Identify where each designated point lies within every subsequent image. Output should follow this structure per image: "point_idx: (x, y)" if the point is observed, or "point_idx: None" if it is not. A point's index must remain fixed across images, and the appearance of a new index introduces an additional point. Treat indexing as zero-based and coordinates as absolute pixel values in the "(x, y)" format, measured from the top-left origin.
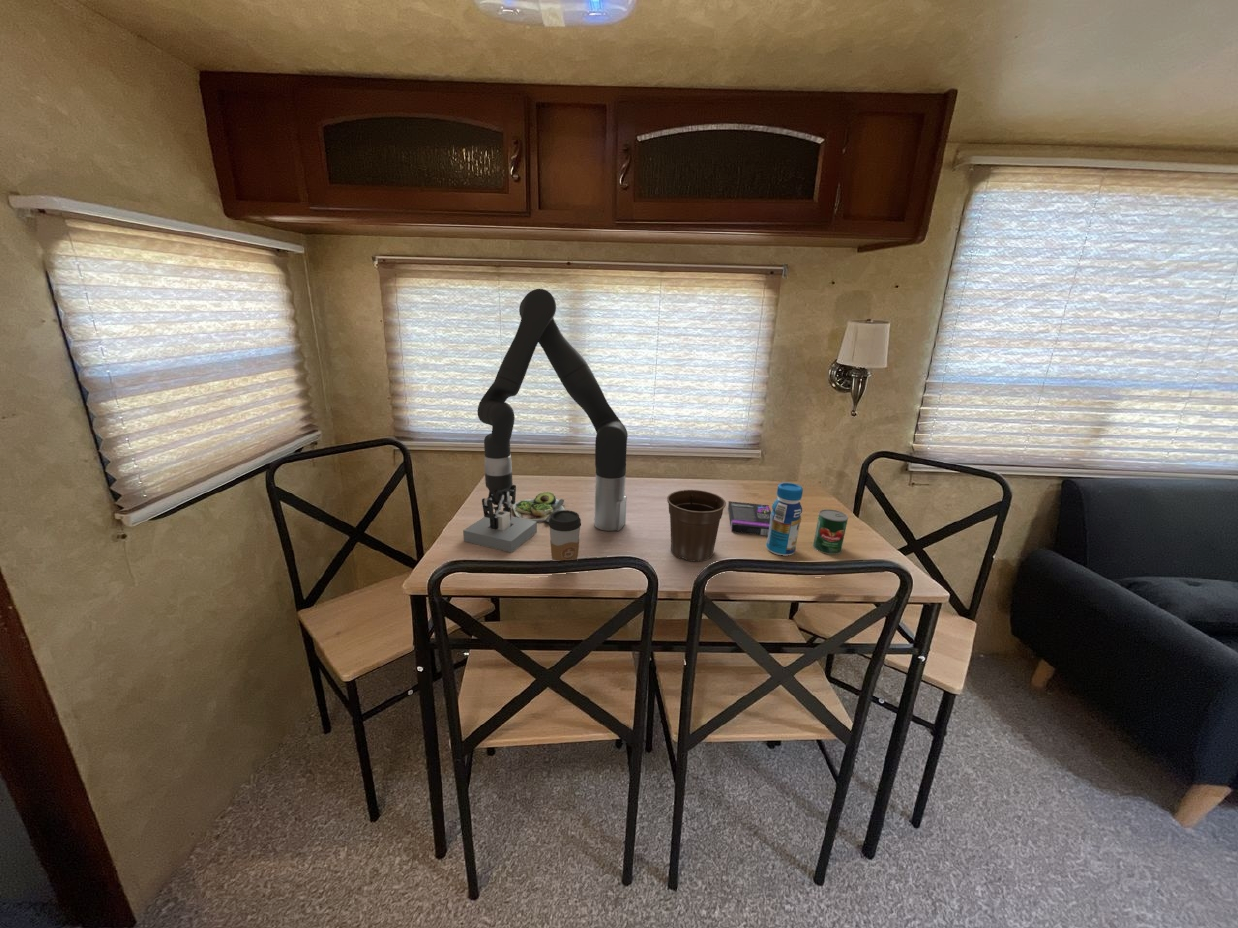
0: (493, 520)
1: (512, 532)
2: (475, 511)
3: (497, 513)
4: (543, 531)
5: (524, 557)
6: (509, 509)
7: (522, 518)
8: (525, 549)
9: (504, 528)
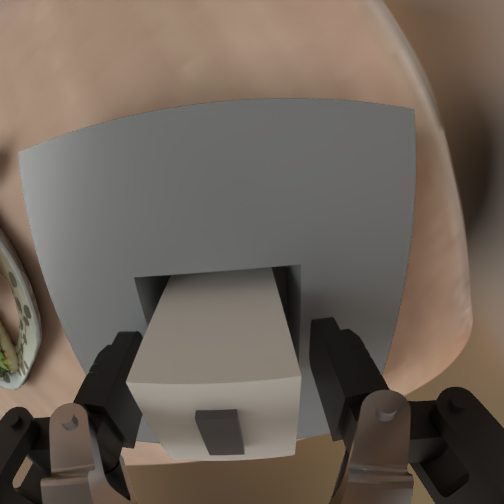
0: (384, 384)
1: (280, 185)
2: (130, 455)
3: (375, 435)
4: (45, 123)
5: (373, 30)
6: (99, 406)
7: (30, 305)
8: (295, 59)
9: (249, 292)
